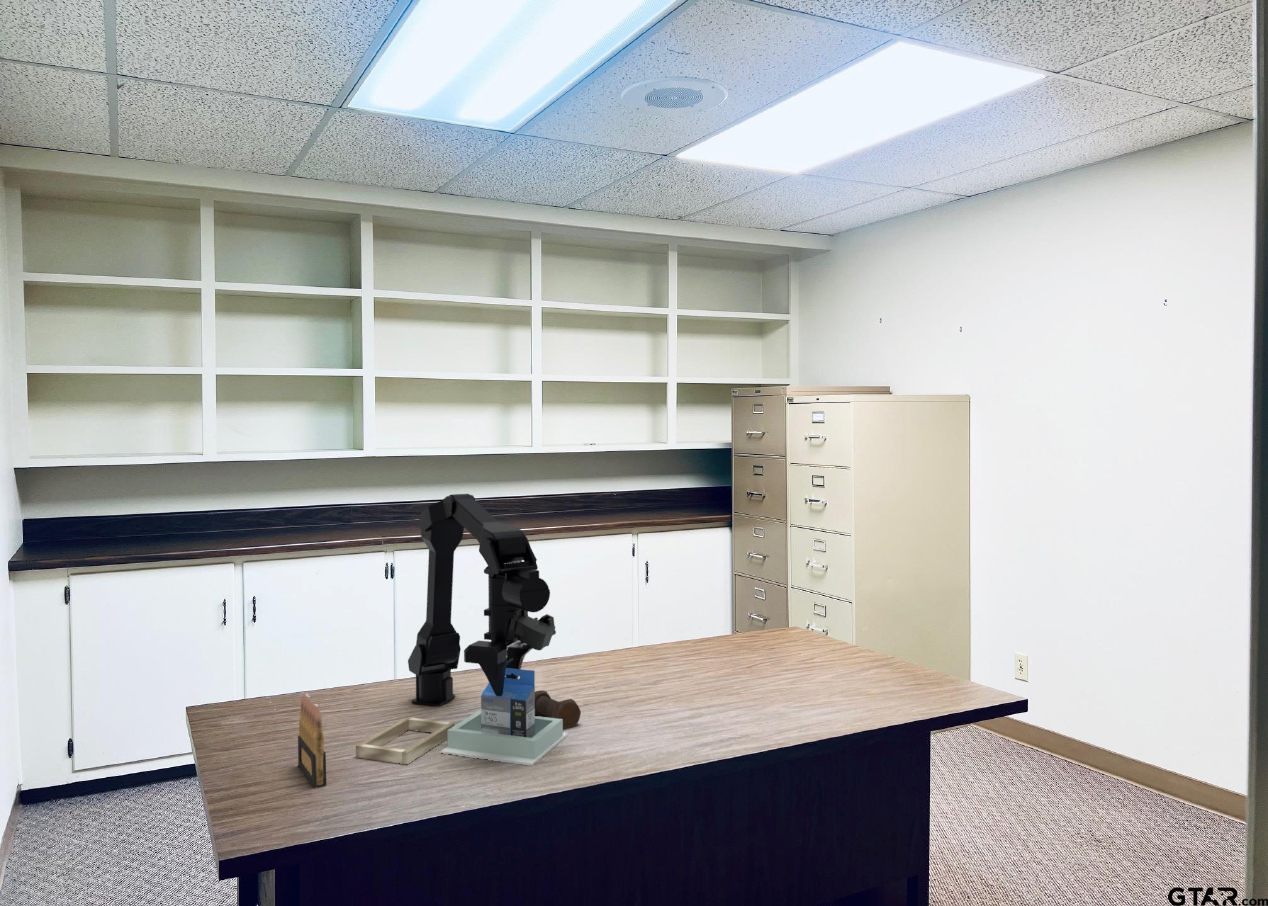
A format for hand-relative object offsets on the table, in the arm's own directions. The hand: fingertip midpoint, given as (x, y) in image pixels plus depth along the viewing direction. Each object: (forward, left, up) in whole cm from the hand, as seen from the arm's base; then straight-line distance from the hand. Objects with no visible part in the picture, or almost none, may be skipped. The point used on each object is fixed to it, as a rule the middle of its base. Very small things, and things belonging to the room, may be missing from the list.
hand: (505, 691), depth 152 cm
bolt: (+1, +15, -10) cm, 18 cm away
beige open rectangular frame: (-16, -6, -9) cm, 19 cm away
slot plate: (0, 0, -9) cm, 9 cm away
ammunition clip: (-23, -22, -9) cm, 33 cm away
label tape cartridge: (0, 0, -9) cm, 9 cm away
